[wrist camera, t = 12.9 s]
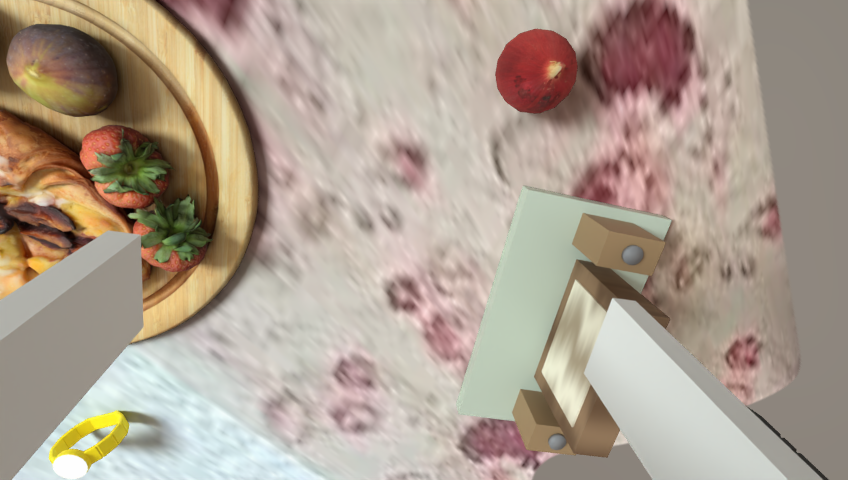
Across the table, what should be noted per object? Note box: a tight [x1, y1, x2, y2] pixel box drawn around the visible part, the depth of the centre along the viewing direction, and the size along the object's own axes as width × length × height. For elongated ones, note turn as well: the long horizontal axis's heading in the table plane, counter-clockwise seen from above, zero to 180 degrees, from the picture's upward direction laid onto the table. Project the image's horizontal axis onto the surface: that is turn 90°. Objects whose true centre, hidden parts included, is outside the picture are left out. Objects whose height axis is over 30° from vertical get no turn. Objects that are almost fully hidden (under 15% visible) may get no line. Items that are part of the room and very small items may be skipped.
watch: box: [49, 411, 129, 479], centre depth 42 cm, size 6×3×6 cm, turn 104°
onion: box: [495, 29, 577, 113], centre depth 34 cm, size 6×6×8 cm
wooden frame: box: [534, 259, 670, 457], centre depth 40 cm, size 13×3×10 cm, turn 167°
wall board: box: [456, 186, 672, 455], centre depth 42 cm, size 24×14×7 cm, turn 167°
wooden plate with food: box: [0, 0, 258, 344], centre depth 33 cm, size 32×32×8 cm
